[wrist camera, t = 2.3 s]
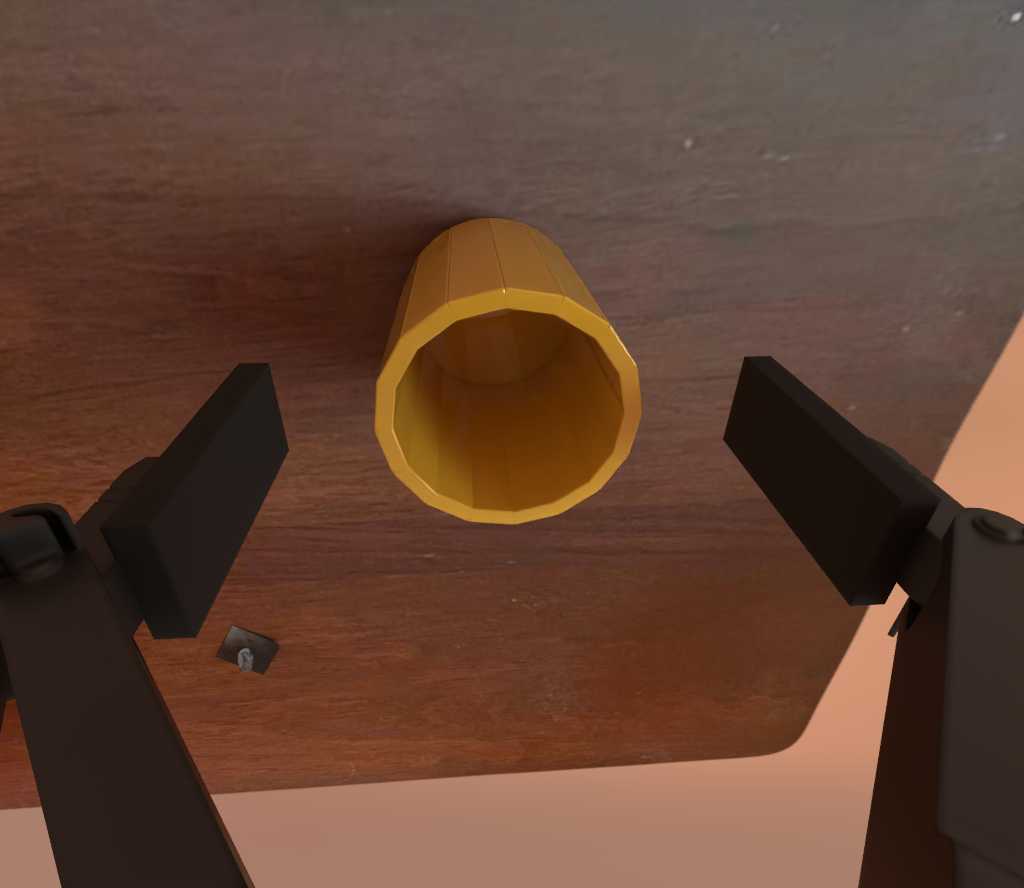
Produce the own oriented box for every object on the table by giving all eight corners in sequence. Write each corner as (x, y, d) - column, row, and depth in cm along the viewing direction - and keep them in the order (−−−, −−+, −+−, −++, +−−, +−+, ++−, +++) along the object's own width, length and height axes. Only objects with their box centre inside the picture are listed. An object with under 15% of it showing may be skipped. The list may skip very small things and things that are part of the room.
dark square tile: (215, 656, 32) (205, 674, 31) (233, 624, 30) (223, 642, 29) (263, 674, 32) (255, 692, 31) (282, 644, 31) (274, 662, 30)
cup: (366, 293, 21) (315, 401, 14) (512, 175, 20) (546, 225, 12) (476, 416, 25) (484, 559, 17) (610, 326, 23) (685, 440, 15)
